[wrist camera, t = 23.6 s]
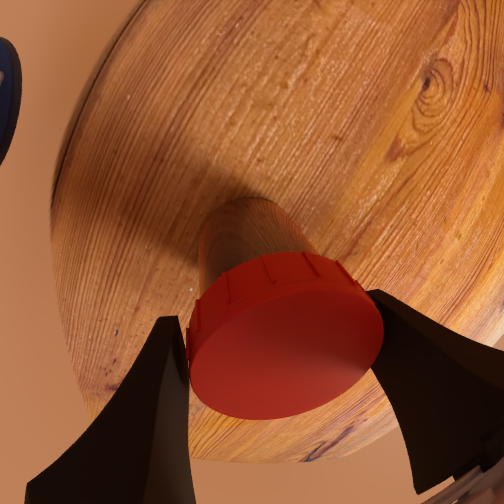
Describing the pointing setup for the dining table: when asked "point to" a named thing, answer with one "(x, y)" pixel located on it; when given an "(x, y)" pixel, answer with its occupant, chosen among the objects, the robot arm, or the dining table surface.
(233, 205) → the jar
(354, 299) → the jar lid
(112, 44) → the dining table surface
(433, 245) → the dining table surface
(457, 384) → the robot arm
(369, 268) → the dining table surface
